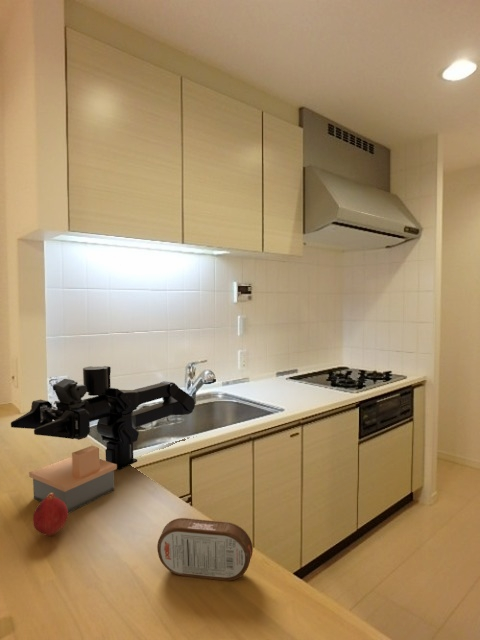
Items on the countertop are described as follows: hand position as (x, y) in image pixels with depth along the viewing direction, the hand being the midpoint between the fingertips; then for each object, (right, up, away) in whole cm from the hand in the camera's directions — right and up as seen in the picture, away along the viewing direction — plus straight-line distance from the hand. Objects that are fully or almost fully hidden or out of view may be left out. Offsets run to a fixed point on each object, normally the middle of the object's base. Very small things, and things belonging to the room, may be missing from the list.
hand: (22, 428), depth 85 cm
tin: (+40, -17, -22) cm, 49 cm away
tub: (+9, -16, +5) cm, 19 cm away
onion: (+11, -17, -11) cm, 23 cm away
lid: (+9, -13, +5) cm, 16 cm away
